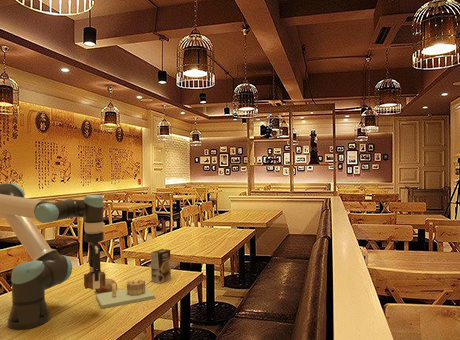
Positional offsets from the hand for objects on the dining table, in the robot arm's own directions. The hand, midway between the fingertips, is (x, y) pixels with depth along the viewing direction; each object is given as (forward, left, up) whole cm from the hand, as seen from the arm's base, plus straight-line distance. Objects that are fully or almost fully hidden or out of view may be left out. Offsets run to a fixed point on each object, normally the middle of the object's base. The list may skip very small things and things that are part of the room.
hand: (94, 285), depth 159 cm
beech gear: (+20, +13, -11) cm, 26 cm away
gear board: (+15, +13, -12) cm, 23 cm away
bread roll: (+9, +28, -13) cm, 32 cm away
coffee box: (+38, +30, -13) cm, 50 cm away
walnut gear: (0, 0, 0) cm, 0 cm away
